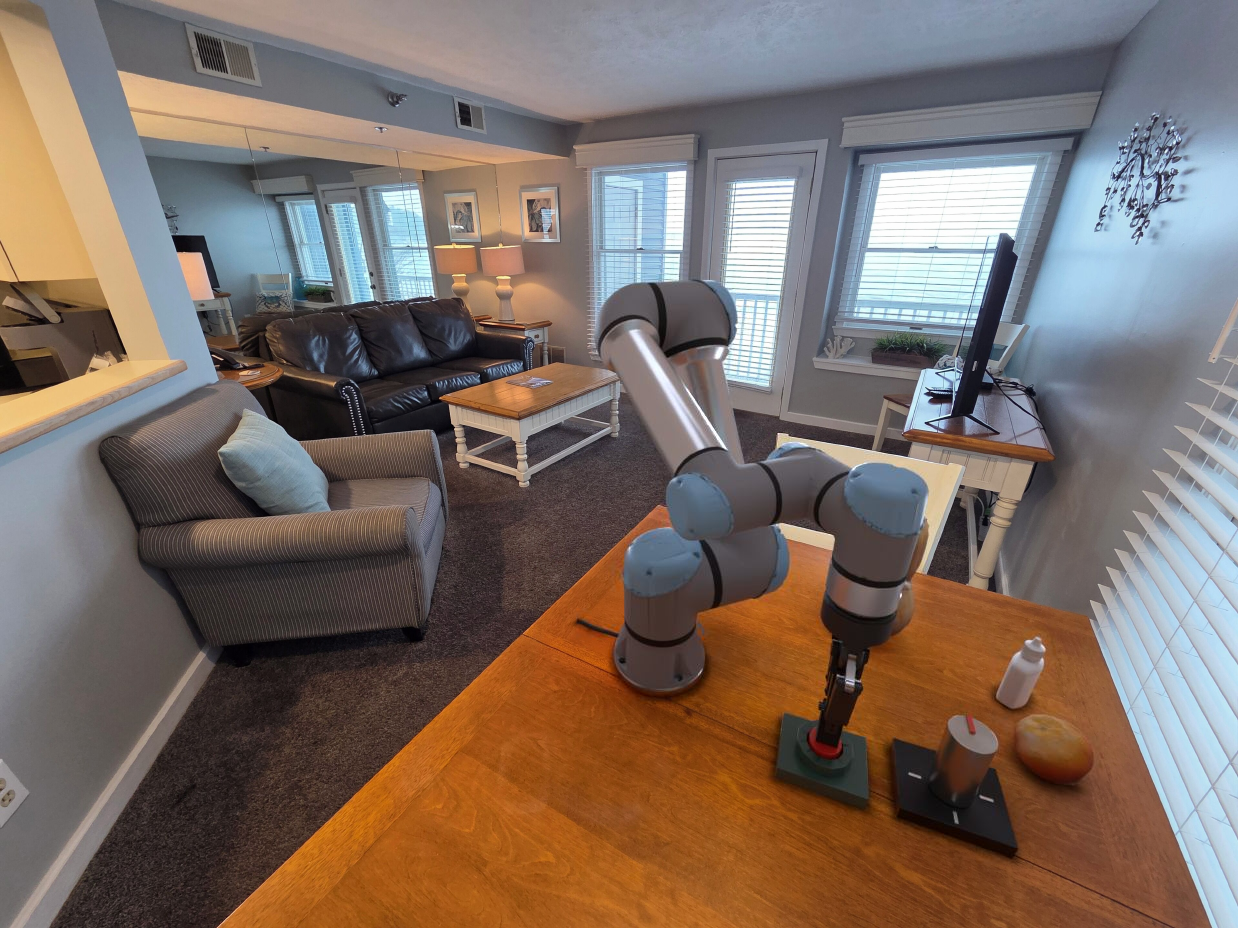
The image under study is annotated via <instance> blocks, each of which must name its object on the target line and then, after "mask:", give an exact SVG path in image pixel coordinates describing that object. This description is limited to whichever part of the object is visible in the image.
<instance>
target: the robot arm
mask: <svg viewBox="0 0 1238 928" xmlns="http://www.w3.org/2000/svg"><path fill="white" fill-rule="evenodd" d="M738 320H739V318H738V310H737V306H736V303H735V300H734V298H733V296H732V294H731V292H730V291H729V289H728V288H726V287H725V285H723V284H722V283H720V282H718V281H717V280H711V279H700V278H691V279H688V280H670V281H651V282H650V281H649V282H647V281H646V282H645V281H642V282H641V281H640V282H631V283H629V284H627V285H624V286H622V287H620V288H618V289H617V290H615V291H614V292H613V293H611V295H609V297H608V298H607V299H606V300H605V301H604V303H603V304H602V306H601V308H600V310H599V311H598V314H597V316H596V318H595V323H594V329H593V341H594V345H595V349H596V352H597V354H598V356H599V358H600V360H601V362H602V364H603V366H605V368H606V369H607V370H609V372H611V373H614V374H615V375H616V376H617V378H618V380H619V382H620V384H621V385H622V388H623V389H624V391H625V393H626V395H627V396H628V398H629V400H630V402H631V404H632V406H633V408H634V409H635V411H636V413H637V415H638V417H639V419H640V420H641V422H642V425H643V427H644V429H645V430H646V432H647V434H648V435H649V438H650V440H651V441H652V443H653V445H654V446H655V448H656V450H657V452H658V454H659V456H660V458H661V460H662V462H663V463H664V465H665V467H666V469H667V471H668V472H669V475H670V476H671V478H672V479H671V480H670V481H669V483H668V484H667V487H666V491H665V507H666V511H667V512H668V515H669V521H670V524H671V526H672V527H670V526H669V527H658V528H654V529H651V530H648V531H646V532H644V533H642V534H640V535H638V536H637V537H636V538H635V539H634V540H633V541H632V542H631V543H630V544H629V546H628V548H627V549H626V550H625V556H624V563H623V569H622V582H623V615H624V617H623V620H624V621H623V623H622V626H621V628H620V631H619V632H616V631H612V630H610V629H607V628H602V627H600V626H596V625H595V624H592V623H590V622H587V621H585V620H583V619H581V618H577V619H576V621H575V622H576V623H577V624H579V625H581V626H583V627H585V628H588V629H590V630H592V631H594V632H597V633H601V634H604V635H607V636H611V637H613V638H616V641H615V643H614V646H613V666H614V669H615V672H616V673H617V676H618V677H619V678H620V680H621V681H622V682H623V683H624V685H626V686H627V687H629V688H630V689H631V690H633V691H634V692H637V693H639V694H641V695H645V696H649V697H653V698H670V697H676V696H679V695H681V694H684V693H686V692H688V691H689V690H691V689H693V688H694V687H695V686H696V685H697V684H698V683H699V682H700V680H701V678H702V676H703V674H704V671H705V663H706V652H705V647H704V646H703V645H704V644H703V642H702V639H701V636H700V634H699V631H698V628H699V630H700V631H701V633H702V635H703V636H704V637H706V629H705V628H704V627H703V625H702V623H701V622H700V620H699V619H698V618H697V617H698V614H700V613H703V612H708V611H710V610H714V609H717V608H722V607H724V606H729V605H733V604H736V603H741V602H744V601H747V600H748V601H749V600H756V599H757V600H758V599H759V598H761V597H763V596H766V595H768V594H771V593H773V592H776V591H778V590H779V589H780V588H781V587H782V586H783V584H784V582H785V581H786V580H787V578H788V574H789V571H790V563H791V561H790V560H791V558H790V556H791V555H790V549H789V545H788V542H787V538H786V537H785V535H784V533H782V530H781V528H780V527H779V525H780V524H783V523H787V522H792V521H797V520H802V519H808V520H809V521H811V522H812V523H813V524H815V525H816V526H818V527H819V528H821V530H824V531H825V532H826V533H829V534H830V535H832V537H833V538H834V541H833V548H832V553H831V556H830V560H829V565H828V570H827V574H826V578H825V579H826V580H825V584H824V585H825V587H824V588H825V589H824V593H823V598H822V603H821V607H820V614H819V615H820V620H821V622H822V624H823V626H824V628H825V629H826V630H827V631H828V632H829V633H830V634H831V637H830V639H831V643H830V648H829V661H828V665H827V670H826V671H827V672H826V674H825V682H826V685H825V687H824V689H823V692H824V696H825V697H823V699H822V701H820V700H819V701H818V706H817V710H818V711H820V712H819V716H818V719H817V720H818V725H817V729H816V740H815V741H816V742H819V743H822V744H825V745H829V746H832V747H835V748H838V744H839V740H840V737H841V733H842V730H843V729H844V727H848V725H849V724H850V719H851V717H852V714H853V712H854V709H855V707H856V704H857V701H858V698H859V696H861V695H862V692H863V691H864V685H863V682H861V679H862V677H863V674H864V673H863V672H864V670H865V669H864V668H865V666H866V665H867V664H868V663H869V660H870V656H871V648H874V647H878V646H881V645H883V644H885V643H887V642H888V641H889V639H890V638H891V637H892V636H891V633H892V629H893V626H894V622H895V619H896V615H897V609H898V606H899V602H900V599H901V595H902V594H901V592H902V590H909V589H910V583H909V582H907V581H906V578H907V574H908V572H909V570H908V569H909V565H910V562H911V559H912V556H913V552H914V549H915V546H916V543H917V541H918V538H919V535H920V532H921V530H922V528H923V526H924V523H925V518H926V516H925V514H926V510H927V504H928V500H929V495H930V490H929V486H928V484H927V482H926V481H925V479H924V478H923V477H922V476H920V474H918V473H916V472H915V471H913V470H910V469H908V468H906V467H903V466H901V467H900V466H895V465H893V464H892V463H886V462H863V463H861V464H857V465H856V466H854V467H853V468H852V467H850V466H848V465H847V464H845V463H843V462H841V461H840V460H838V459H837V458H834V457H833V456H831V455H829V454H828V453H826V452H825V451H822V449H820V448H816V447H814V446H811V445H810V446H809V445H808V444H806V443H804V442H799V441H789V442H785V443H783V444H781V446H780V447H778V448H777V449H774V450H773V451H771V453H770V454H769V455H768V457H766V460H763V461H755V462H751V463H745V460H744V455H743V451H742V445H741V441H740V436H739V432H738V431H739V430H738V427H737V422H736V418H735V413H734V408H733V403H732V399H731V395H730V394H731V393H730V390H729V385H728V380H727V375H726V371H725V365H724V362H725V360H726V359H727V357H728V356H729V354H730V352H731V351H730V345H731V344H732V343H733V341H734V340H735V338H736V335H737V332H738V328H737V326H736V325H737V324H738V323H739V321H738ZM890 636H891V637H890Z"/></svg>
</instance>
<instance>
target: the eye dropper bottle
mask: <svg viewBox="0 0 1238 928" xmlns="http://www.w3.org/2000/svg"><path fill="white" fill-rule="evenodd" d="M1045 653H1046V647H1045V646H1044V645H1043V644H1042V638H1041V637H1039V636H1035V637H1034V638H1033V639H1027V640H1025V641H1024V643H1023V645H1022V647H1021V649H1020V651H1018V652H1016V653H1015V654H1014V655H1013V656H1012V658H1011V659H1010V662H1009V664H1008V666H1007V668H1006V670H1005V673H1004V674H1003V678H1002V680H1001V681H1000V682H1001V683H1000V685H999V687H998V689H997V691H996V697H995V698H996V701H998V702H1000V703H1001V704H1003V705H1004V706H1006V707H1007V708H1009V709H1011V710H1015V709H1016V710H1017V709H1019V708H1022V707H1023V706H1025V705H1026V704H1027V703H1028V701H1029V699H1030V696H1031V694H1032V692H1033V691H1034V689H1035V687H1036V683H1037V682H1038V680H1039V678H1040V675H1041V673H1042V672H1043V670H1044V666H1045V661H1044V658H1043V657H1044V655H1045Z"/></svg>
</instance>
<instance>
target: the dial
mask: <svg viewBox="0 0 1238 928" xmlns="http://www.w3.org/2000/svg"><path fill="white" fill-rule="evenodd" d="M943 731H944V732H943V734H942V737H941V739H940V742H939V744H938V746H937V748H936V751H937V752H936V754H935V757H934V759H933V762H932V764H931V767H930V769H929V772H928V775H927V780H928V784H929V786H930V788H931V790H932V791H933V792H934V793H935V795H936V796H937V797H938V798H940V799H941V800H942V801H944V802H945V803H947V804H949V805H951V806H954V807H958V808H965V807H968V806H970V805H971V804H972V803H973V800H974V798H975V796H976V794H977V792H978V790H979V788H980V785H981V783H982V781H983V779H984V777H985V775H986V773H987V770H988V768H989V767H990V766H991V764H992V762H993V760H994V758H995V755H996V753H997V751H998V749H999V741H998V738H997V736H996V735H995V733H994V732H993V731H992V729H990V728H989V727H988V726H987V725H986V724H985V723H983V722H981V721H979V720H978V719H976V718H974V717H973V716H972V715H970V714H966V715H953V716H951V717H950V718H949V719H948V721H947V723H946V726H945V728H944V730H943Z"/></svg>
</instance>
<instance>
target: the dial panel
mask: <svg viewBox="0 0 1238 928" xmlns="http://www.w3.org/2000/svg"><path fill="white" fill-rule="evenodd" d="M891 740H892V741H891V744H890V747H889V749H890V760H891V771H892V782H893V793H894V805H895V816H896V818H897V819H900V820H903V821H906V822H908V823H910V824H913V825H917V826H919V827H922V828H926V829H928V830H931V831H934V832H937V833H939V834H943V835H945V836H948V837H951V838H953V839H957V840H959V841H962V842H965V843H968V844H969V845H970V844H971V845H973V846H975V847H980V848H982V849H985V850H987V851H990V852H994V853H996V854H999V855H1002V856H1005V857H1007V858H1010V859H1014V857H1015V856H1016V854H1017V851H1018V850H1019V846H1018V843H1017V840H1016V836H1015V832H1014V829H1013V825H1012V822H1011V818H1010V815H1009V811H1008V807H1007V804H1006V800H1005V796H1004V793H1003V789H1002V786H1001V782H1000V779H999V775H998V772H997V769H996V768H994V767H990V766H989V768H988V770H987V773H986V775H985V777H984V779H983V781H982V783H981V785H980V788H979V790H978V792H977V794H976V796H975V798H974V800H973V803H972V804H971V805H970V806H968V807H965V808H958V807H954V806H951V805H949V804H947V803H945V802H944V801H942V800H941V799H940V798H938V797H937V796H936V795H935V793H934V792H933V791H932V790H931V788H930V786H929V784H928V780H927V775H928V772H929V769H930V767H931V764H932V762H933V759H934V757H935V754H936V752H937V750H934V749H932V748H928V747H926V746H922V745H919V744H915V743H912V742H908V741H905V740H902V739H898V738H895V737H893V738H892V739H891Z"/></svg>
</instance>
